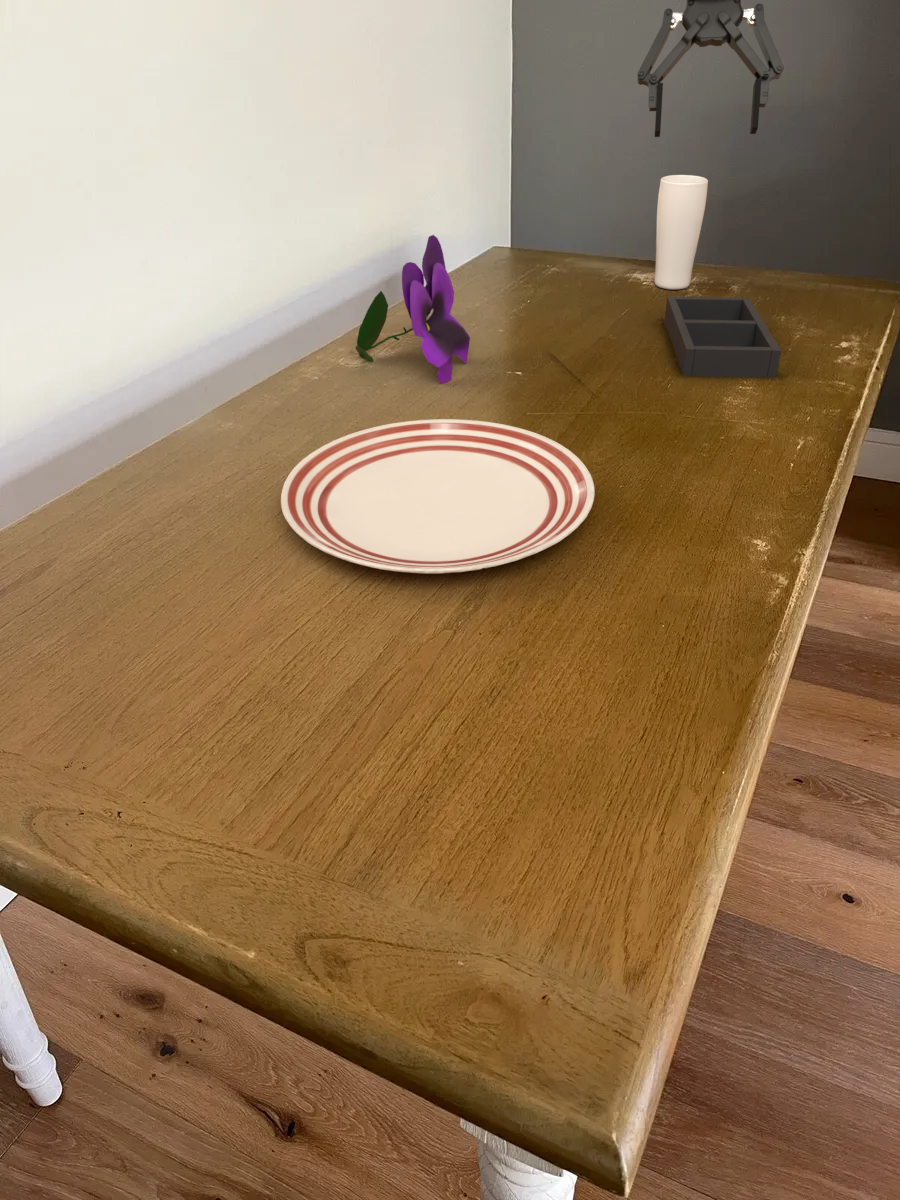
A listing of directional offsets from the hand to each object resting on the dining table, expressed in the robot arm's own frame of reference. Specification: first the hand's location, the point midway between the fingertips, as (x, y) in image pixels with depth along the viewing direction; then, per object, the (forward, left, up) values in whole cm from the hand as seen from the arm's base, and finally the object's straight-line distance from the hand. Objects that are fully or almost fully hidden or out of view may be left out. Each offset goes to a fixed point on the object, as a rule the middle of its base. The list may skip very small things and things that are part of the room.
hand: (705, 132), depth 139 cm
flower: (+51, +28, -20) cm, 62 cm away
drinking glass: (+5, +6, -20) cm, 22 cm away
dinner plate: (+57, +65, -20) cm, 89 cm away
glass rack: (+14, +36, -20) cm, 43 cm away
